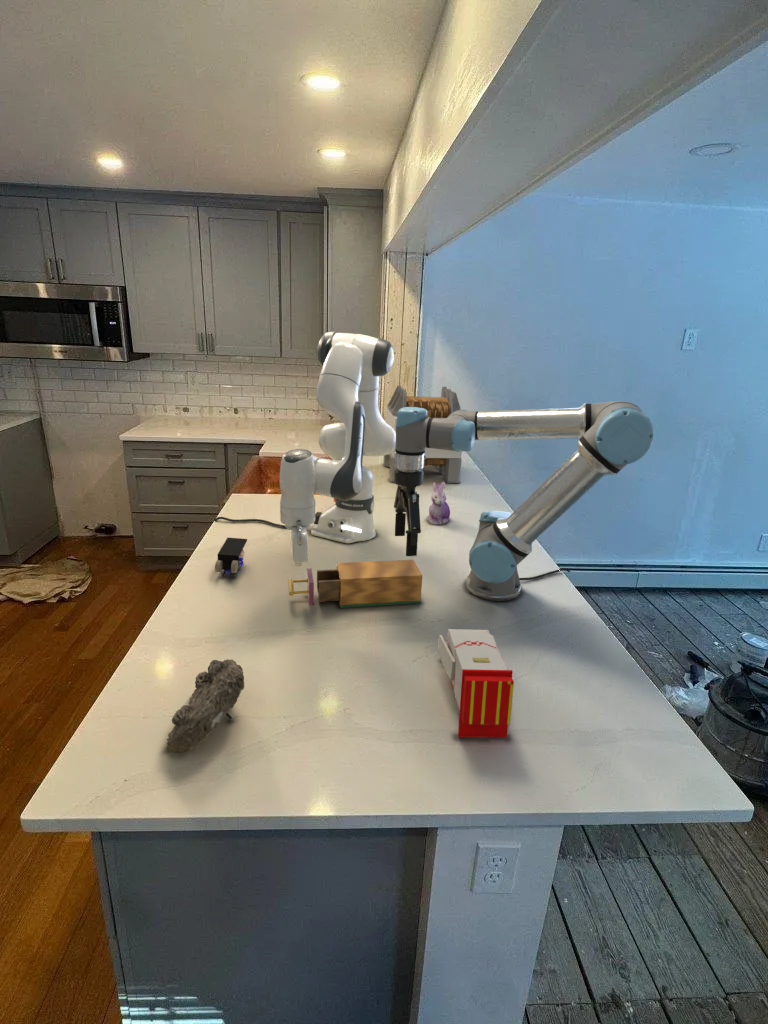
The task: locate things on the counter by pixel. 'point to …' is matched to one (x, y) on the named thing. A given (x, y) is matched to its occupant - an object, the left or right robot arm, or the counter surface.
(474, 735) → the toy
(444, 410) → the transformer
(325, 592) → the drawer
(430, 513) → the figurine
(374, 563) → the wooden box
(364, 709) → the counter surface
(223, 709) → the fossil
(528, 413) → the right robot arm
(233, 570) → the figurine character
